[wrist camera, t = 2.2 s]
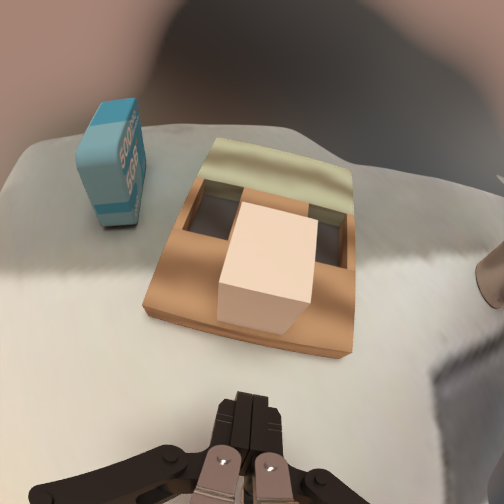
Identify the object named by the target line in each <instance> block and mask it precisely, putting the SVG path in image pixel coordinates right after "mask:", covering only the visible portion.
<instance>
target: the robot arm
mask: <svg viewBox="0 0 504 504" xmlns="http://www.w3.org/2000/svg"><path fill="white" fill-rule="evenodd" d="M476 277H477V282H478V285H479V288H480V291H481V293H482V295H483V296H484V298H485V299H486V301H487V302H488V303H489V304H490V305H491V306H492V307H494V308H500V307H502V306H503V305H504V241H503V242H502V243H501V244H500V245H499V246H498V247H497V248H496V249H494V250H493V251H492V252H491V253H490V254H489V255H487V256H486V257H485V258H484V259H483V260H482V261H480V262H479V263H478V265H477V268H476ZM238 475H239V476H244V484H243V485H242V488H241V504H370V503H368V502H367V501H366V500H364V499H363V498H362V497H360V496H359V495H358V494H357V493H355V492H354V491H353V490H351V489H350V488H349V487H348V486H346V485H345V484H344V483H343V482H342V481H340V480H339V479H338V478H337V477H335V476H334V475H333V474H332V473H331V472H329V471H327V470H325V469H313V470H311V471H309V472H305V471H302V470H299V469H296V468H294V467H292V466H290V465H289V464H288V463H287V461H286V460H285V459H284V457H283V444H282V426H281V415H280V413H279V412H278V410H277V408H272V407H268V397H266V396H260V395H255V394H253V395H252V394H249V393H244V392H239V391H237V394H236V397H235V401H233V400H229V399H224V400H223V401H222V402H221V403H220V404H219V407H218V411H217V415H216V419H215V423H214V428H213V432H212V437H211V442H210V446H209V447H208V448H207V449H206V450H204V451H202V452H199V453H185V452H184V451H183V450H182V449H180V448H179V447H177V446H173V445H161V446H159V447H156V448H154V449H152V450H149V451H147V452H144V453H142V454H139V455H137V456H134V457H132V458H129V459H126V460H124V461H121V462H118V463H115V464H113V465H110V466H107V467H104V468H101V469H98V470H94V471H91V472H88V473H85V474H81V475H78V476H74V477H70V478H66V479H62V480H58V481H54V482H50V483H45V484H40V485H36V486H34V487H33V488H31V490H30V491H29V494H28V498H29V502H30V504H163V503H165V502H167V501H169V500H171V499H173V498H175V497H176V496H178V495H180V494H192V493H193V496H192V498H191V501H190V504H234V502H235V498H234V494H235V489H236V484H237V480H238Z"/></svg>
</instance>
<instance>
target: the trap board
mask: <svg viewBox="0 0 504 504" xmlns="http://www.w3.org/2000/svg"><path fill="white" fill-rule="evenodd" d="M242 202H247V203H251V204H255V205H260V206H264V207H268V208H272V209H276V210H280V211H284V212H288V213H292V214H296V215H300V216H304V217H308V218H312V219H315V220H318V226H317V240H316V253H315V265H314V275H313V285H312V295H311V303H310V305H309V306H308V307H307V308H306V309H305V310H304V312H303V313H302V314H301V315H300V316H299V317H298V319H297V320H296V321H295V322H294V323H293V324H292V325H291V327H290V328H289V329H288V330H287V331H286V332H285V333H284V335H283V336H282V335H277V334H272V333H267V332H263V331H258V330H254V329H249V328H245V327H240V326H236V325H232V324H228V323H224V322H220V321H217V305H218V286H219V279H220V276H221V272H222V269H223V265H224V262H225V258H226V255H227V252H228V248H229V245H230V241H231V238H232V234H233V231H234V228H235V224H236V221H237V218H238V214H239V211H240V208H241V204H242ZM142 306H143V308H144V309H145V311H146V312H147V314H148V316H151V317H155V318H158V319H161V320H165V321H168V322H171V323H175V324H178V325H182V326H186V327H189V328H193V329H197V330H200V331H204V332H208V333H212V334H216V335H220V336H224V337H228V338H232V339H237V340H241V341H245V342H250V343H254V344H259V345H264V346H269V347H274V348H279V349H284V350H289V351H295V352H300V353H306V354H312V355H318V356H324V357H331V358H338V359H340V358H342V357H344V356H346V355H348V354H350V353H352V347H353V332H354V313H355V222H354V203H353V188H352V176H351V170H348V169H345V168H341V167H338V166H335V165H332V164H328V163H325V162H321V161H318V160H314V159H311V158H307V157H303V156H300V155H296V154H292V153H288V152H284V151H280V150H276V149H272V148H267V147H263V146H258V145H254V144H249V143H244V142H239V141H234V140H229V139H224V138H219V137H217V138H216V140H215V142H214V144H213V146H212V148H211V150H210V151H209V153H208V155H207V157H206V159H205V161H204V163H203V165H202V167H201V169H200V171H199V173H198V175H197V177H196V179H195V181H194V183H193V185H192V188H191V190H190V192H189V194H188V196H187V198H186V200H185V202H184V205H183V207H182V209H181V211H180V213H179V215H178V218H177V220H176V222H175V224H174V227H173V229H172V231H171V234H170V236H169V238H168V240H167V243H166V245H165V248H164V250H163V252H162V255H161V257H160V260H159V262H158V265H157V267H156V270H155V272H154V275H153V277H152V280H151V282H150V285H149V287H148V290H147V293H146V295H145V298H144V301H143V303H142Z"/></svg>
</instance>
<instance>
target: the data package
mask: <svg viewBox="0 0 504 504" xmlns="http://www.w3.org/2000/svg"><path fill="white" fill-rule="evenodd" d="M76 166H77V169H78V172H79V175H80V177H81V180H82V182H83V185H84V187H85V190H86V192H87V194H88V197H89V199H90V201H91V204H92V206H93V208H94V211H95V213H96V215H97V217H98V219H99V222H100V224H101V225H102V226H117V225H131V224H136V223H137V221H138V217H139V209H140V202H141V195H142V188H143V182H144V176H145V170H146V157H145V151H144V144H143V138H142V131H141V124H140V116H139V108H138V102H137V99H136V98H129V99H121V100H114V101H107V102H102V103H101V104H100V106H99V108H98V110H97V111H96V113H95V115H94V117H93V118H92V120H91V122H90V124H89V126H88V128H87V130H86V132H85V134H84V136H83V138H82V140H81V142H80V144H79V146H78V148H77V152H76Z"/></svg>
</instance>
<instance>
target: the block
mask: <svg viewBox="0 0 504 504" xmlns="http://www.w3.org/2000/svg"><path fill="white" fill-rule="evenodd" d="M317 226H318V220H315V219H312V218H308V217H304V216H300V215H296V214H292V213H288V212H284V211H280V210H276V209H272V208H268V207H264V206H260V205H255V204H251V203H247V202H242V204H241V208H240V211H239V214H238V218H237V221H236V224H235V228H234V231H233V234H232V238H231V241H230V245H229V248H228V252H227V255H226V258H225V262H224V265H223V269H222V272H221V276H220V279H219V286H218V305H217V321H220V322H224V323H228V324H232V325H236V326H240V327H245V328H249V329H254V330H258V331H263V332H267V333H272V334H277V335H282V336H283V335H284V333H285V332H286V331H287V330H288V329H289V328H290V327H291V325H292V324H293V323H294V322H295V321H296V320H297V319H298V317H299V316H300V315H301V314H302V313H303V312H304V310H305V309H306V308H307V307H308V306H309V305H310V303H311V295H312V285H313V275H314V265H315V253H316V240H317Z"/></svg>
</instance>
